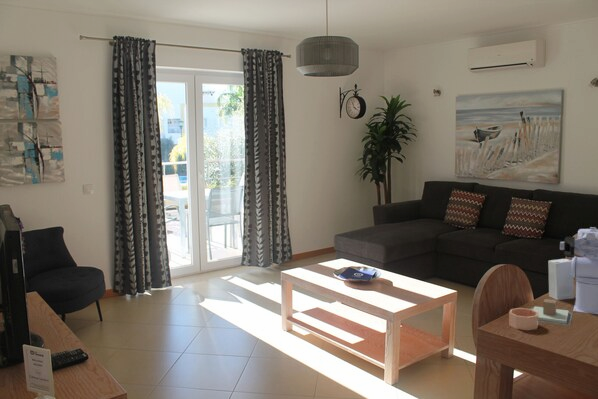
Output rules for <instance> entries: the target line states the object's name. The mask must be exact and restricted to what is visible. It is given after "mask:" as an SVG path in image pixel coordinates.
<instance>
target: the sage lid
mask: <svg viewBox="0 0 598 399" xmlns="http://www.w3.org/2000/svg"><path fill="white" fill-rule="evenodd" d="M533 308H534V309H533V310H534V311H536V312H538V320H542V321H549V322H557V323H564V324H566V323H567V318H568V314H569V312H570V311H569V310H567V309H559V308H557V300H556V299H552V298H551V299H550V298H544V300H543V306H535V305H534V307H533Z"/></svg>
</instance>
